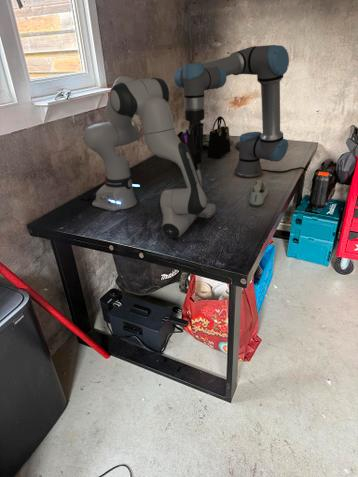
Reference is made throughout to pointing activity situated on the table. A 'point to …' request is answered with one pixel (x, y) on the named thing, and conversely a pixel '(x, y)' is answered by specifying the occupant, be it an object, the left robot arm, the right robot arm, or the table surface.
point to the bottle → (199, 176)
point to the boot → (181, 137)
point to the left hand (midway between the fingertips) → (197, 200)
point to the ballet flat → (258, 193)
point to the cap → (199, 165)
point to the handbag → (219, 140)
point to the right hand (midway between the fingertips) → (196, 168)
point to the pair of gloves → (206, 142)
